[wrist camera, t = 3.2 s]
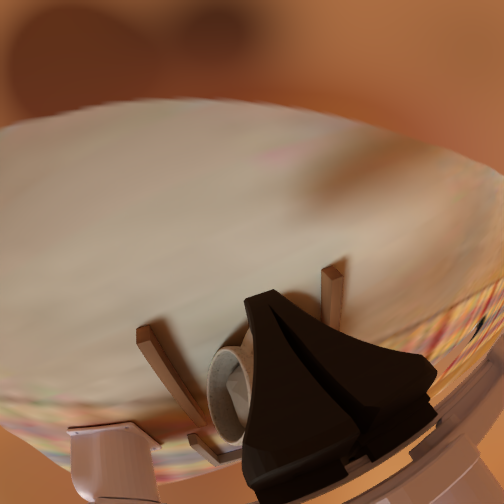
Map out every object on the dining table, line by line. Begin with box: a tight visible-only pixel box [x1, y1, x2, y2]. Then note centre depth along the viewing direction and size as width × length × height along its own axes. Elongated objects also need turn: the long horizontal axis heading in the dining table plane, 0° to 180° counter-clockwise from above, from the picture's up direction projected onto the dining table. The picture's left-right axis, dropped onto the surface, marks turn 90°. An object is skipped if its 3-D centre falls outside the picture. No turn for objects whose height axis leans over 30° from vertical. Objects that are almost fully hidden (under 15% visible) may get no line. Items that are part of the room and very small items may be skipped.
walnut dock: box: [136, 266, 343, 427], centre depth 22 cm, size 15×14×2 cm
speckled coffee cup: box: [207, 327, 254, 445], centre depth 19 cm, size 11×8×8 cm
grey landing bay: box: [188, 434, 242, 467], centre depth 30 cm, size 20×12×2 cm, turn 99°
